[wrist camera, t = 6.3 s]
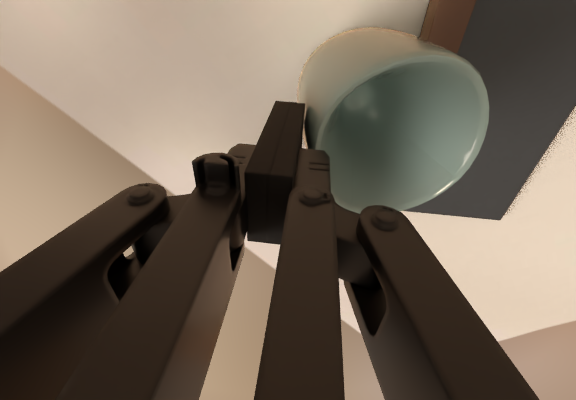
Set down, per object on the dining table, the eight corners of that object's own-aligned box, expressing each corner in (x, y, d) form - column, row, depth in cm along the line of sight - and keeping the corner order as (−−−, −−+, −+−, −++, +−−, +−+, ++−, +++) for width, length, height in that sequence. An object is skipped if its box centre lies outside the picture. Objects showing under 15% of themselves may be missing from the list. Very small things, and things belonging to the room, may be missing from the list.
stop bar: (379, 178, 25) (382, 189, 24) (449, -69, 15) (461, -75, 14) (402, 180, 25) (407, 192, 24) (487, -68, 15) (503, -73, 14)
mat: (383, 205, 27) (383, 209, 26) (494, -153, 14) (499, -158, 13) (497, 217, 26) (500, 220, 26) (732, -149, 13) (745, -153, 13)
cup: (401, 114, 22) (481, 190, 14) (306, 145, 23) (331, 233, 15) (395, -3, 17) (509, 16, 9) (274, 43, 18) (288, 94, 10)
